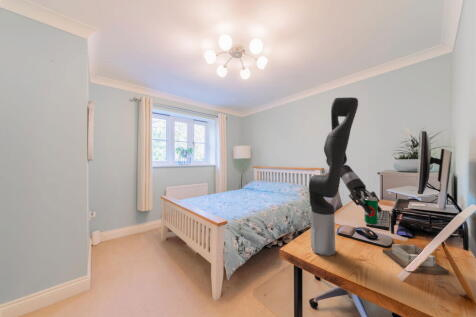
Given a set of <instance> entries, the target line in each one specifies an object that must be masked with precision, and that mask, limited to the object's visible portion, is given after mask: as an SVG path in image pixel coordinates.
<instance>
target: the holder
mask: <svg viewBox="0 0 476 317" xmlns="http://www.w3.org/2000/svg"><path fill="white" fill-rule="evenodd" d="M423 250H424V249H423V248H421V247H420V246H418V245H416V244H399V243H397V244H396V243H395V244H394V243H391V249H382V253H383V254H384V255H385V256H386V257H388V258H389V259H391V260H392V261H393V262H394V263H396V265H398V266H399V267H400V268H402V269H403V270H404V268H406V267H407V266H408V265H409V264H410V263H411V262H412V261H413V260H414V259H415V258H416V257H417V256H418V255H419V254H420V253H421V252H422V251H423ZM436 258H437V257H436V256H435V255H433V254H431V253H430V255H429V256H428V258H427V259H426V260H425V261H424V262H423V263H422V264H421V265H420V266H419V267H418V268H417V269H416V270H415V271H413V272H412V273H421V274H422V273H425V274H435V275H436V274H439V275H450V270H448V269H446V268H445V267H444V266H441V264H439V263H437V261H436Z"/></svg>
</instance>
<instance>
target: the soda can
mask: <svg viewBox="0 0 476 317" xmlns="http://www.w3.org/2000/svg"><path fill="white" fill-rule="evenodd" d="M365 202H366V204H367V205H368V206H369V208H370V209H371V211H372V212H370V213H367V212H366V211H365V210H364V209H363V210H364V212H363V213H364V222H365V223H366V224H369V225H373V226H374V225H378V224H379V213H378V205H379V202H378V200H377V198H376V197H365Z"/></svg>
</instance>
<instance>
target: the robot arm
mask: <svg viewBox="0 0 476 317" xmlns="http://www.w3.org/2000/svg"><path fill="white" fill-rule="evenodd" d="M358 108H359V99H358V98H357V97H348V96H347V97H335V98H334V99H333V101H332V103H331V109H330V116H331V117H330V121H331V122H330V123H331V131H330V132H329V133H328V134H327V136H326V139H325V141H324V142H325V143H324V146H323V152H324V156H325V157H326V158H325V159H326V160H325V161H326V164H327V166H328V172H327V173H328V174H327V175H321V174H320V175H319V174H317V175H316V174H314V175H312V176H311V177H310V179H309V182H308V194H309V195H308V196H309V204H310V207H311V226H310V247H311V249H312V251H313V253H314V254H319V255H322V256H326V257H328V256H331V257H332V256H334V255H335V254H336V228H335V227H336V221H335V220H336V218H335V217H336V214H335V206H334V205H333V204H331V203H330V202H329V201H327V200H326V199H325V198H327V199H328V198H329V199H333V198H335V197H336V196H337V194H338V192H339V189H340V184H341V180H342V182H343V184H344V185H345V187H346V188H347V190H348V191H349V192H350V193H349V194H348V197H349V199H350V200H352V202H354V204H356V206H360V207H362V209H363V210H365V211H366V212H367V213H370V212H372V211H371V209H370V208H369V206H368V205H367V204H366V202H365V197H376V198H377V200H378V203H379V202H380V199H379V197H378V196H377V193H376V192H375V191H369V190H368V189H367V187H366V184H365V183H364V182H363V180H361V178H360V177H359V175H358V174H357V173H356V172H355V171H354V170H353V169H352V168H351V166H349V165H348V164H346V163H347V161H348V157H347V154H346V152H347V149H348V144H349V142H350V141H349V140H350V139H349V138H350V136H351V130H352V126H353V123H354V120H355V117H356V115H357V114H356V113H357V112H358ZM340 117H344V119H343V120H342V122H341V123H340V121H339V118H340ZM381 212H383V209H382V208H381V206H379V204H378V214H379V213H381Z"/></svg>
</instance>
